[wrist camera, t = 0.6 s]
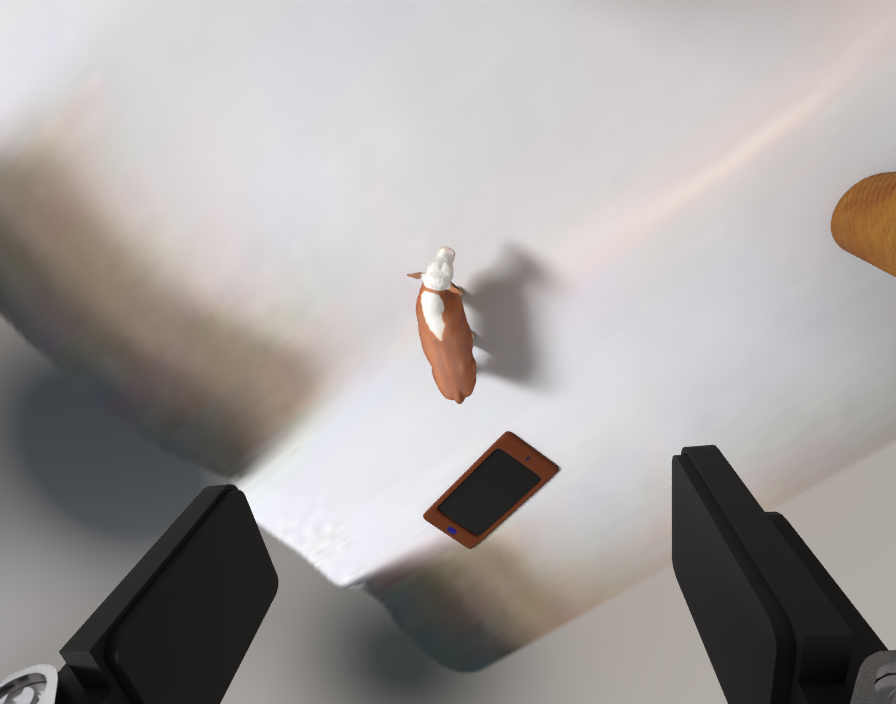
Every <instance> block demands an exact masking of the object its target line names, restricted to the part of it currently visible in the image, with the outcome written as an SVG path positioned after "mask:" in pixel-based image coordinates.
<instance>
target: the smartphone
mask: <svg viewBox="0 0 896 704" xmlns="http://www.w3.org/2000/svg"><path fill="white" fill-rule="evenodd" d="M558 469H559V468H558V466H557V465H555V464H554V463H553V462H551V461H550V460H549V459H547V458H546V457H544V456H543V455H542V454H540V453H539V452H538V451H536V450H535V449H533V448H532V447H531V446H529V445H528V444H527V443H525V442H524V441H522V440H521V439H520V438H518V437H517V436H516V435H514V434H513V433H511V432H509V431H507V432H505V433H504V434H503V435H502V436H501V437H500V438H499V439H498V440H497V441H496V442H495V443H494V444H493V445H492V446H491V447H490V448H489V449H488V450H487V451H486V452H485V453H484V454H483V455H482V456H481V457H480V458H479V459H478V460H477V461H476V462H475V463H474V464H473V465H472V466H471V467H470V468H469V469H468V470H467V471H466V472H465V473H464V474H463V475H462V476H461V477H460V478H459V479H458V480H457V481H456V482H455V483H454V484H453V485H452V486H451V487H450V488H449V489H448V490H447V491H446V492H445V493H444V494H443V495H442V496H441V497H440V498H439V499H438V500H437V501H436V502H435V503H434V504H433V505H432V506H431V507H430V508H429V509H428V510H427V511H426V512H425V514H424V515H423V517H424V519H425V520H426V521H427V522H429V523H431V524H432V525H434V526H435V527H437V528H438V529H440V530H441V531H443V532H444V533H446V534H447V535H449V536H450V537H452V538H453V539H455V540H456V541H458V542H459V543H461V544H462V545H464V546H465V547H467V548H469V549H472V548H473V547H474V546H476V545H477V544H478V543H479V542H481V541H482V540H483V539H484V538H485V537H486V536H487V535H488V534H490V533H491V532H492V531H493V530H494V529H495V528H496V527H497V526H498V525H500V524H501V523H502V522H503V521H504V520H505V519H506V518H507V517H508V516H510V515H511V514H512V513H513V512H514V511H515V510H516V509H517V508H518V507H520V506H521V505H522V504H523V503H524V502H525V501H526V500H527V499H528V498H530V497H531V496H532V495H533V494H534V493H535V492H536V491H537V490H538V489H540V488H541V487H542V486H543V485H544V484H545V483H546V482H547V481H548V480H549V479H550V478H551V477H552V476H553V475H555V474H556V473H557V472H558Z"/></svg>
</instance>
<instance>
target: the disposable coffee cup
mask: <svg viewBox="0 0 896 704" xmlns="http://www.w3.org/2000/svg"><path fill="white" fill-rule="evenodd" d="M831 231H832V235H833V238H834V240H835V241H836V243H837V244H838V245H839V246H840V247H841V248H842V249H843V250H845V251H847V252H849V253H851V254H853V255H855V256H856V257H859V258H861V259H862V260H864V261H866V262H868V263H870V264H872V265H874V266H876V267H878V268H879V269H881V270H883V271H885V272H887V273H889V274H891V275H893V276H894V277H896V172H887V173H879V174H876V175H873V176H869V177H867V178H865V179H863V180H861V181H860V182H858V183H857V184H855V185H854V186H853V187H851V188H850V189H849V190H848V191H847V192H846V193H845V194H844V195H843V197H842V198H841V199H840V201H839V202H838V204H837V206H836V208H835V210H834V213H833V215H832V220H831Z"/></svg>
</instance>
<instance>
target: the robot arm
mask: <svg viewBox="0 0 896 704" xmlns="http://www.w3.org/2000/svg"><path fill="white" fill-rule="evenodd" d="M672 562H673V568H674V571H675V575H676V578H677V581H678V583H679V586H680V588H681V590H682V593H683V595H684V598H685V600H686V602H687V605H688V607H689V610H690V612H691V615H692V617H693V619H694V622H695V624H696V627H697V629H698V632H699V634H700V636H701V639H702V642H703V644H704V646H705V649H706V651H707V654H708V656H709V658H710V661H711V663H712V666H713V668H714V671H715V673H716V675H717V678H718V680H719V683H720V685H721V688H722V690H723V693H724V695H725V697H726V700H727V702H728V704H896V650H888V649H887V648H886V647H885V645H884V644H883V643H882V641H881V640H880V639H879V637H878V636H877V635H876V634H875V632H874V631H873V630H872V628H871V627H870V626H869V625H868V623H867V622H866V621H865V619H863V617H862V616H861V614H860V613H859V612H858V610H857V609H856V608H855V607H854V605H853V604H852V603H851V601H850V600H849V599H848V598H847V596H846V595H845V594H844V592H843V591H842V590H841V589H840V587H839V586H838V585H837V584H836V582H835V581H834V580H833V578H832V577H831V576H830V574H829V573H828V572H827V571H826V569H825V568H824V567H823V566H822V564H821V563H820V562H819V560H818V559H817V558H816V556H815V555H814V554H813V553H812V551H811V550H810V549H809V548H808V546H807V545H806V544H805V543H804V541H803V540H802V538H801V537H800V536H799V535H798V533H797V532H796V531H795V530H794V528H793V527H792V526H791V524H790V523H789V522H788V521H787V520H786V518H785V517H784V516H783V515H782V514H780V513H778V512H764V510H763V509H762V508H761V506H760V505H759V503H758V502H757V501H756V499H755V498H754V497H753V495H752V494H751V493H750V491H749V490H748V488H747V487H746V486H745V484H744V483H743V482H742V480H741V479H740V478H739V476H738V475H737V473H736V472H735V471H734V469H733V468H732V467H731V465H730V464H729V463H728V461H727V460H726V458H725V457H724V456H723V454H722V453H721V452H720V450H719V449H718V448H717V447H716V446H715V445H705V446H693V447H684V448H682V451H681V455H674V456H673V458H672ZM277 589H278V576H277V574H276V571H275V569H274V566H273V564H272V561H271V559H270V556H269V554H268V551H267V549H266V546H265V544H264V541H263V539H262V536H261V534H260V531H259V529H258V526H257V524H256V521H255V519H254V516H253V514H252V511H251V509H250V506H249V504H248V501H247V499H246V496H245V494H244V493H243V492H242V491H241V490H238V488H237V487H236V486H235V485H231V484H229V485H216V486H209V487H206V488H204V489H203V490H202V491H201V493H200V494H199V495H198V496H197V497H196V498H195V499H194V500H193V501H192V503H191V504H190V505H189V506H188V507H187V508H186V509H185V510H184V512H183V513H182V514H181V515H180V516H179V517H178V518H177V519H176V521H175V522H174V523H173V524H172V525H171V526H170V527H169V529H168V530H167V531H166V532H165V533H164V534H163V535H162V536H161V537H160V539H159V540H158V541H157V542H156V543H155V544H154V545H153V546H152V548H151V549H150V550H149V551H148V552H147V553H146V554H145V555H144V557H143V558H142V559H141V560H140V561H139V562H138V563H137V564H136V566H135V567H134V568H133V569H132V570H131V571H130V572H129V574H128V575H127V576H126V577H125V578H124V579H123V580H122V581H121V582H120V584H119V585H118V586H117V587H116V588H115V589H114V591H112V593H111V594H110V595H109V596H108V597H107V598H106V599H105V601H104V602H103V603H102V604H101V605H100V606H99V607H98V608H97V610H96V611H95V612H94V613H93V614H92V615H91V616H90V618H89V619H88V620H87V621H86V622H85V623H84V624H83V625H82V626H81V628H80V629H79V630H78V631H77V632H76V633H75V634H74V635H73V637H72V638H71V639H70V640H69V641H68V642H67V643H66V644H65V646H64V647H63V648H62V649H61V650H60V651H59V653H60V654H61V655H62V657H63V659H64V660H65V661H66V664H65V665H64V666H63V667H62V669H61V670H60V671H59V672H58V671H57V670H56V669H55V668H54V667H53V666H52V665H45V664H40V665H35V666H31V667H27V668H25V669H23V670H21V671H18V672H16V673H14V674H12V675H10V676H9V677H7V678H5V679H4V680H2V681H0V704H220V703H221V701H222V699H223V697H224V695H225V693H226V691H227V689H228V687H229V685H230V683H231V681H232V679H233V677H234V675H235V673H236V672H237V669H238V668H239V666H240V664H241V662H242V660H243V658H244V656H245V654H246V652H247V650H248V648H249V646H250V644H251V642H252V640H253V638H254V636H255V634H256V632H257V630H258V629H259V627H260V625H261V623H262V621H263V618H264V617H265V615H266V613H267V611H268V609H269V607H270V605H271V603H272V601H273V599H274V597H275V595H276V593H277Z"/></svg>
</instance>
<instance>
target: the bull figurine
mask: <svg viewBox="0 0 896 704" xmlns="http://www.w3.org/2000/svg"><path fill="white" fill-rule="evenodd" d="M454 258H455V252H454V250H453V249H451V248H449V247H442V248H440V249H439V251H438V253H437V257H436V259H435V261H434V262H432V263H431V264H430V265H429V266H428V267H427V271H426V272H425V273H420V272H419V273H413V274H407V276H409V277H413V278H416V279H421V280H422V281H423V283H422V286H421V288H420V292H419V296H418V298H417V303H416V315H417V320H418V327H419V335H420V339H421V343H422V348H423V351H424V353H425V355H426V357H427V359H428V361H429V363H430V364H431V366H432V374H433V377H434V380H435V382H436V384H437V386H438V388H439V390H440V392H441V393H442V395H443V396H444V397H445V398H447V399H449V400H455V401H456V403H458V404H461V403H462V402H463V401H464V399H465V398H466V397H468V396H470V395H471V394H472V392H473V389H474V386H475V383H476V361H475V359H474V357H473V354H472V348H473V346H474V344H473V341H474V333H473V332H472V331H471V329H470V327H469V324H468V323H467V319H466V315H465V312H464V308H463V303H462V300H461V296H462V295H464V292H463V290H462V288H461V287H458V286H455V285H454V284H453V283H452V282H451V279H452V278H453V261H454Z"/></svg>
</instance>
